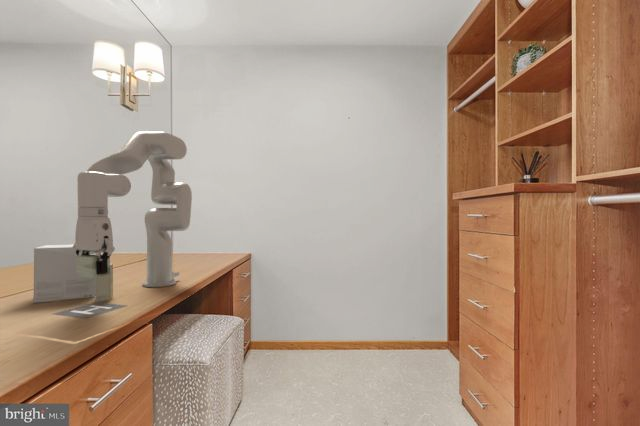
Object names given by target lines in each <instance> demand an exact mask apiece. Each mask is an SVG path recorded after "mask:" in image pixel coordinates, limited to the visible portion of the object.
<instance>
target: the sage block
mask: <svg viewBox="0 0 640 426" xmlns="http://www.w3.org/2000/svg"><path fill="white" fill-rule="evenodd" d="M101 255H103V253H101ZM96 261H98V258H97V255H96V254H90V255H83V256H76V273H77V277H85V278H95V277H99V276H104V275H109V274H110V263H111V256H110V257H109V260H107V262H108V272H107V273H105V274H100V275H97V265H96Z"/></svg>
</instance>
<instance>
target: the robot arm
mask: <svg viewBox="0 0 640 426" xmlns="http://www.w3.org/2000/svg"><path fill="white" fill-rule="evenodd" d="M187 151H188V149H187V145H186V143H185V141H184V140H183V139H182V138H181V137H178V136H176V135H173V134H171V133H168V132H166V131H148V130H146V131H137V132H136V133H135V134H133V135H132V136H131V138H130V139H128V141H127V142H126V144H124V146H123V147H122V148H121V149H120V150H119V151H117V152H115V153H113V154H110V155H108V156H106V157H104V158H102V159H100V160H97V161H95V163H93V164H92V165H91V166H90V167H89V168H88V169H86V171H81V172H79V173H78V174H77V180H76V181H77V220H76V226H75V238H74V239H75V241H74V242H75V243H73V244H74V245H73V249H74V250H75V252H76V254H77V255H78V256H83V255H90V252H91V251H94V252H96V255H97V258H98V261H96V265H97V275H100V274H105V273H107V272H108V262H107V260H109V257H110V258H111V256H112V254H113V253H114V251H115V250H116V248H115V246H114V239H113V230H112V224H111V223H112V222H111V220H110V219H111V218H110V217H108V216H109V215H108V214H109V210H108V209H109V204H108V203H109V202H108V201H109V198H121V197H124V196H127V195H128V194H129V192H130V191H131V188H132V185H131V184H132V183H131V181H130V179H129V178H128V177H127V176H126V175H125V174H129V173H133V172H135V171H138V170H139V169H141V168H142V167H143V166H144V164H145V163H146V162H147V161H148V162H149V164H150V166H151V170H152V177H151V178H152V180H151V191H150V199H151V201H152V203H153V204H155V205H161V206H176V207H154V208H150V209H149V210H147V211H146V213H145V215H144V223H145V231H146V248H147V249H146V280H145V281H143V282H142V287H145V288H162V287H169V286H173V285H175V284H177V280H176V279H175V277H179V276H180V272H179V271H173V240H172V237H171V235H170V234H169V232H183V231H186V230H187V229H189V226H190V223H191V214H192V201H193V195H192V188H191V186H190V185H189V184H187V183H185V182H182V181H181V182H180V181H177V182H175V179H176V178H175V175H176V172H175V169H174V167H173V166H172V165H171V162H169V161H168V160H182V159H183V158H185V157H186V155H187ZM85 252H86V253H85ZM101 254H103V255H101Z"/></svg>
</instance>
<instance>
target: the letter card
mask: <svg viewBox="0 0 640 426" xmlns="http://www.w3.org/2000/svg"><path fill="white" fill-rule="evenodd" d="M125 307H127V304H117V303H107V302H101V301H98V302H96V301H95V302H93V303H88V304H85V305H80V306H77V307H73V308H69V309H65V310H62V311H58V312H54V313H52V315H55V316H64V317H72V318H76V319H77V318H78V319H84V320H87V319H89V318H92V317H95V316H99V315H104V314H105V313H109V312H113V311H115V310H118V309H122V308H123V309H124V308H125Z"/></svg>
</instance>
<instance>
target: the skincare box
mask: <svg viewBox="0 0 640 426" xmlns="http://www.w3.org/2000/svg"><path fill="white" fill-rule="evenodd" d="M113 298H114V263H111V262H110V274H109V275H104V276H99V277H96V296H95V302H109V301H111V300H112V299H113Z"/></svg>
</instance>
